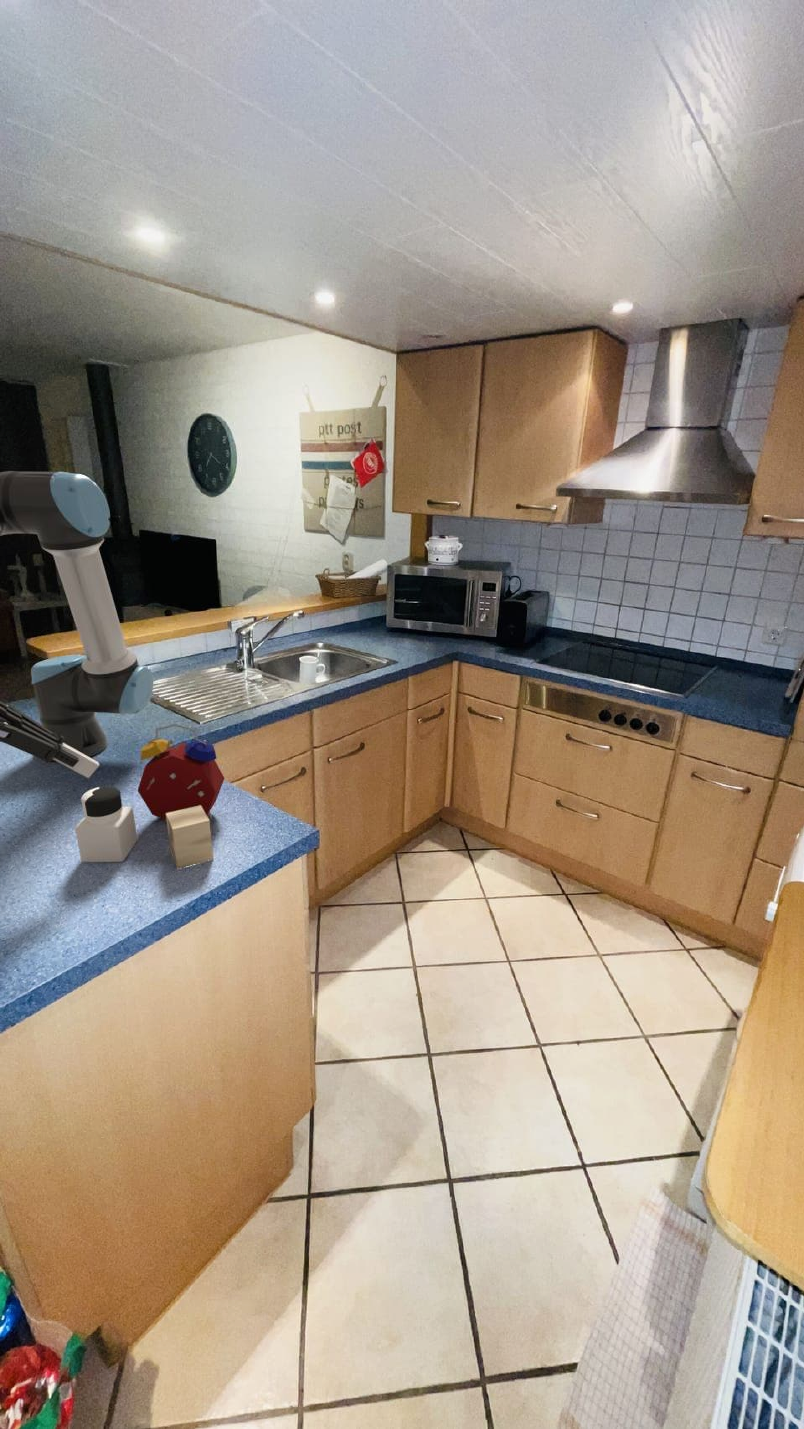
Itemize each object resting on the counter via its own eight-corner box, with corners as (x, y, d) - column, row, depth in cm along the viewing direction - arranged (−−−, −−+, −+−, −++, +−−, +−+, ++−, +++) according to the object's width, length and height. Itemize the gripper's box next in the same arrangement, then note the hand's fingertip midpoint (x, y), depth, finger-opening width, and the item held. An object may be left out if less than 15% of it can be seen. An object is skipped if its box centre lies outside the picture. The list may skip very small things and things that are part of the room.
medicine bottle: (138, 840, 108) (129, 782, 104) (123, 862, 102) (113, 801, 97) (98, 840, 108) (87, 782, 104) (80, 863, 101) (68, 801, 97)
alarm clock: (227, 810, 119) (219, 718, 112) (215, 833, 111) (205, 736, 104) (155, 808, 119) (142, 716, 112) (136, 831, 111) (122, 734, 104)
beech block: (170, 852, 105) (165, 813, 102) (204, 843, 108) (200, 805, 105) (177, 869, 100) (172, 829, 97) (213, 859, 103) (209, 820, 100)
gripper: (-67, 697, 90) (75, 772, 104) (-78, 725, 79) (81, 804, 93) (-32, 660, 90) (103, 739, 104) (-39, 682, 80) (113, 767, 94)
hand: (93, 770), depth 99 cm, fingers closed
